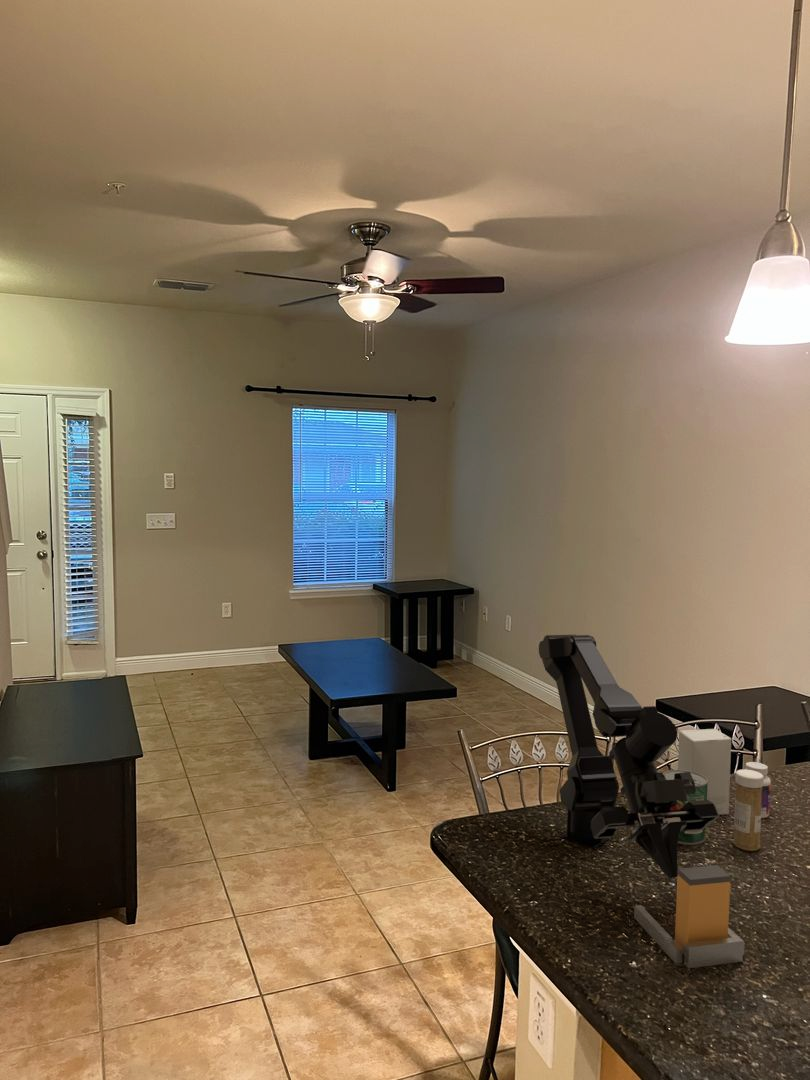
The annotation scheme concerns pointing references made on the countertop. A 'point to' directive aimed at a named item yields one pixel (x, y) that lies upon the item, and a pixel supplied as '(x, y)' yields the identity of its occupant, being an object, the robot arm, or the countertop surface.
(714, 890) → the tan tall block
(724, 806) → the skincare box
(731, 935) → the gray rectangular tray
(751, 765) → the pill bottle
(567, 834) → the robot arm
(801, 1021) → the countertop surface
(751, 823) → the sprinkles bottle
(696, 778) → the canned tomato
